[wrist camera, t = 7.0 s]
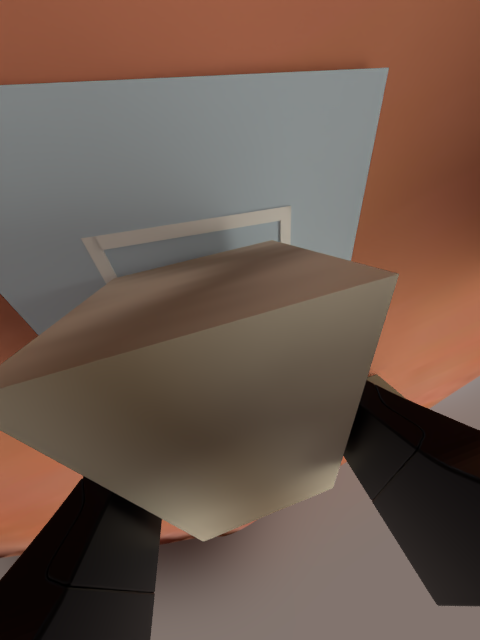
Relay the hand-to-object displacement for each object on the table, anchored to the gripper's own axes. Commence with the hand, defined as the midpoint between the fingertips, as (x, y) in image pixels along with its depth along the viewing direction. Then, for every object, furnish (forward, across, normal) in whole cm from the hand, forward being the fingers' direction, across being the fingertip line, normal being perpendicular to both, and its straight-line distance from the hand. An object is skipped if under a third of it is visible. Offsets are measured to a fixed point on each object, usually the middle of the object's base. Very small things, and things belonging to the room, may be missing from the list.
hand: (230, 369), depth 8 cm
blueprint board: (+3, 0, 0) cm, 3 cm away
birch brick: (+1, 0, 0) cm, 1 cm away
